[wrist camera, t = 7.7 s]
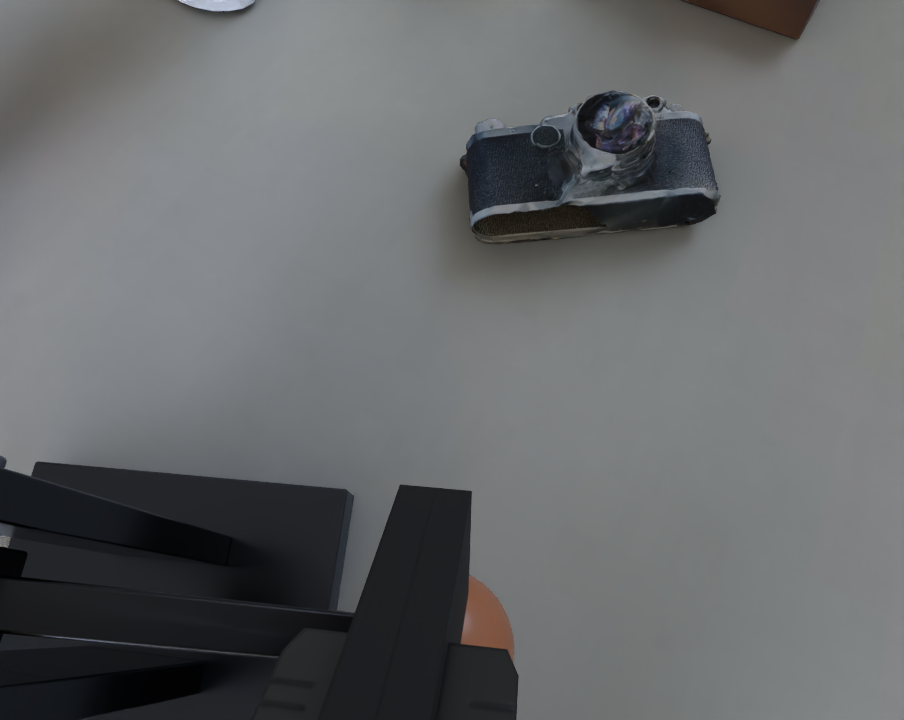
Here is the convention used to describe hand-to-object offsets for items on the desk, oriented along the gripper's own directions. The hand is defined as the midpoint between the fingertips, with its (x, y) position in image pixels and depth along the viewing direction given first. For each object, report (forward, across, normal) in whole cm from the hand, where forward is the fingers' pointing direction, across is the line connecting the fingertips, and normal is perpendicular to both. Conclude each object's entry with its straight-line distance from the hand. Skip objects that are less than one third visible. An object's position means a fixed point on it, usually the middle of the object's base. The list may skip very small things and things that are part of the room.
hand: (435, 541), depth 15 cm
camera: (+18, +3, +4) cm, 19 cm away
